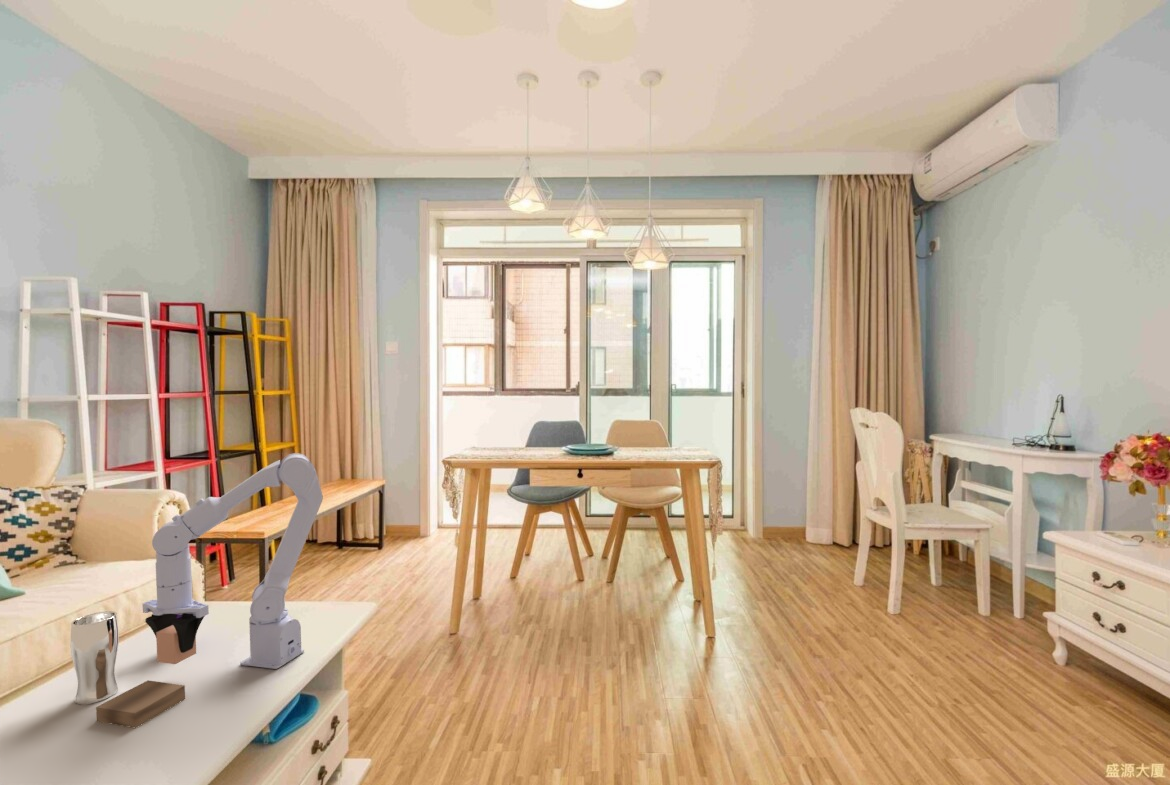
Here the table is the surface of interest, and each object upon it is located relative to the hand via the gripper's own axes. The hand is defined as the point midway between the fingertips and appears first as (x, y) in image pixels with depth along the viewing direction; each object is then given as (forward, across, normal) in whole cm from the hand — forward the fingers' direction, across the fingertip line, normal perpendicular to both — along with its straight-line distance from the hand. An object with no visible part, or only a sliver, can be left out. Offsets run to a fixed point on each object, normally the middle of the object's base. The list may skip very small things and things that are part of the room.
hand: (176, 649), depth 112 cm
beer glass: (+6, -10, -8) cm, 14 cm away
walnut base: (+6, +4, -10) cm, 13 cm away
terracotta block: (+2, 0, 0) cm, 2 cm away
